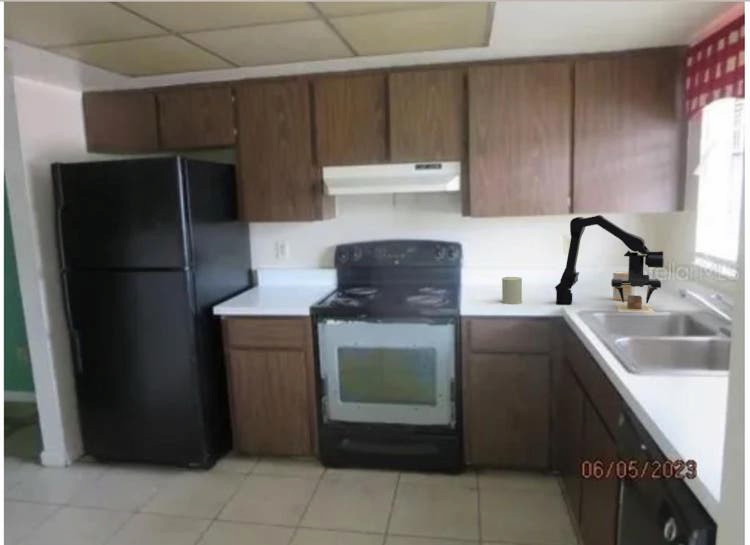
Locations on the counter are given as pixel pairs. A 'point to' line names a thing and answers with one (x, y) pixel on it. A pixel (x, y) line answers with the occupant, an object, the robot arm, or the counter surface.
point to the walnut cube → (634, 302)
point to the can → (511, 290)
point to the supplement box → (626, 288)
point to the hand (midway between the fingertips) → (634, 302)
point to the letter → (644, 309)
